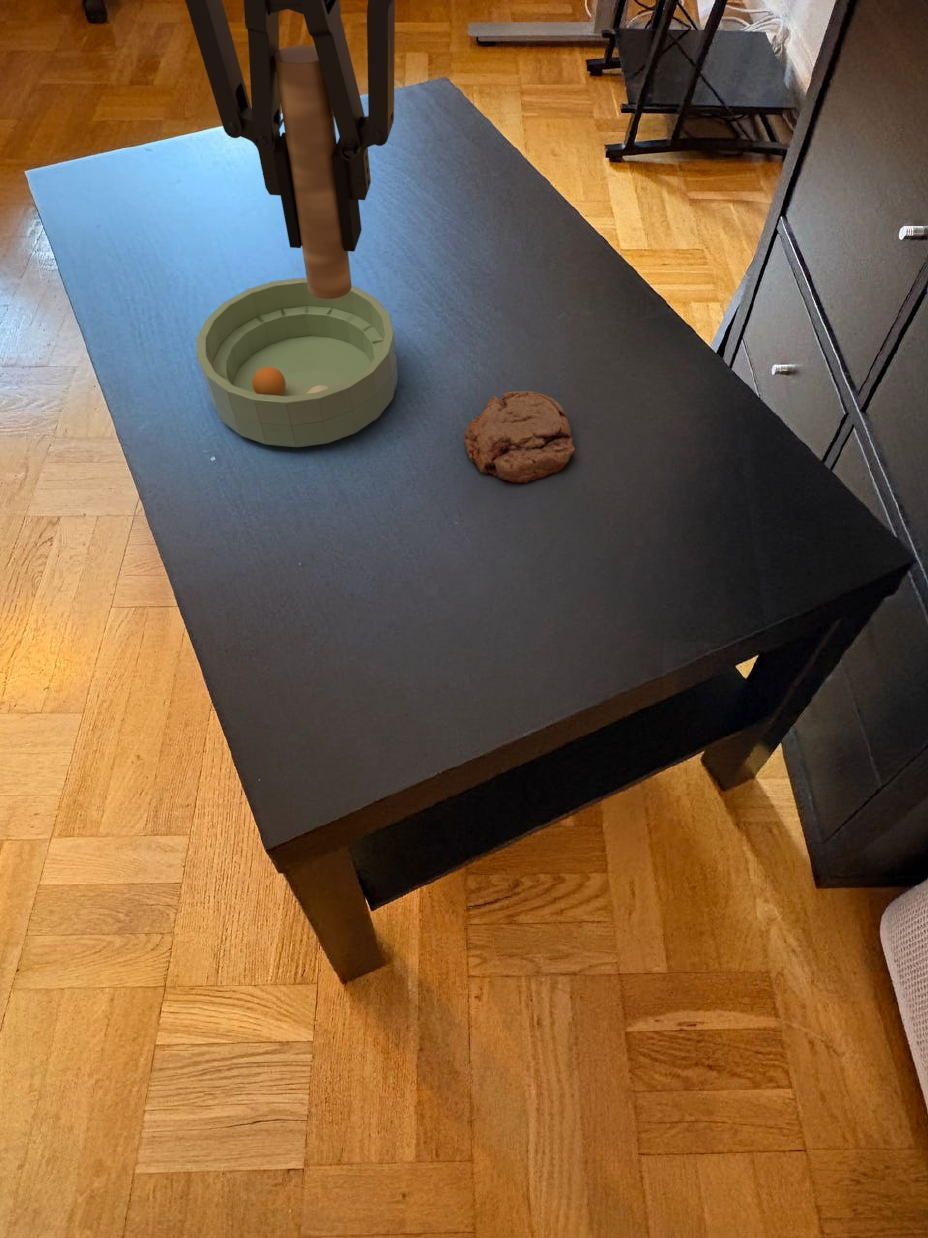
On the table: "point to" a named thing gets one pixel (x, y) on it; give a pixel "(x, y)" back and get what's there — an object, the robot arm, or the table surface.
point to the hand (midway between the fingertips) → (326, 237)
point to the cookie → (520, 437)
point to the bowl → (299, 362)
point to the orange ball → (269, 382)
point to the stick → (313, 169)
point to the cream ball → (317, 389)
